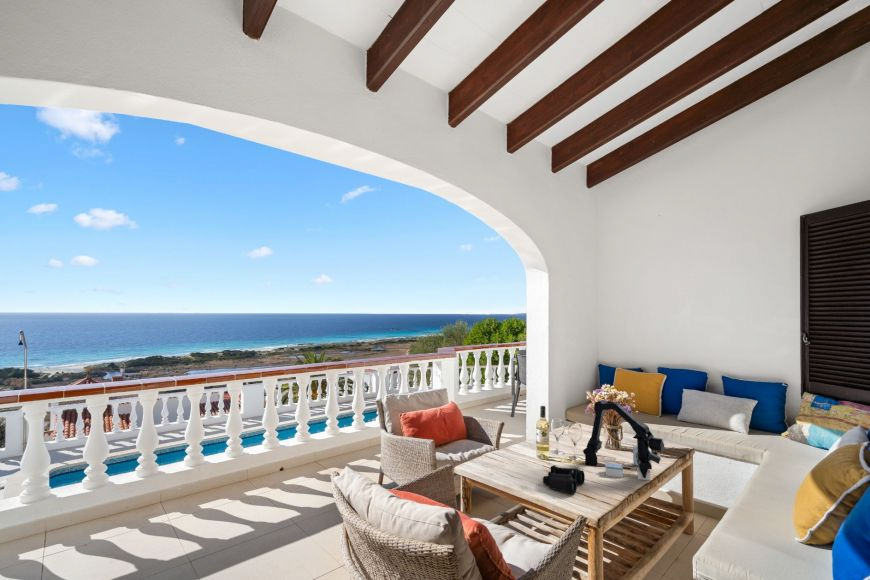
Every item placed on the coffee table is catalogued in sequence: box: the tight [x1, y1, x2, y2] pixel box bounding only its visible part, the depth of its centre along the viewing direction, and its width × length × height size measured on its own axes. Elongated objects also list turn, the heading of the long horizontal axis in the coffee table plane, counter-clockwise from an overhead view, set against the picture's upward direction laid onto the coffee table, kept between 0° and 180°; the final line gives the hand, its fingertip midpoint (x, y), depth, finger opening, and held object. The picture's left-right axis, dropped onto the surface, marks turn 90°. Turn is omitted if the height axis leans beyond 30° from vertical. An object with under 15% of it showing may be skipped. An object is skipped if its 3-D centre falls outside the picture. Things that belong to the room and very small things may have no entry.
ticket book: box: [604, 462, 626, 478], centre depth 233 cm, size 10×6×5 cm, turn 69°
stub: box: [636, 466, 652, 481], centre depth 227 cm, size 6×5×5 cm
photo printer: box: [632, 444, 653, 467], centre depth 245 cm, size 10×4×12 cm, turn 43°
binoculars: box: [542, 464, 586, 495], centre depth 219 cm, size 22×19×10 cm
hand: (643, 476), depth 227 cm, fingers closed on stub, 5 cm apart
